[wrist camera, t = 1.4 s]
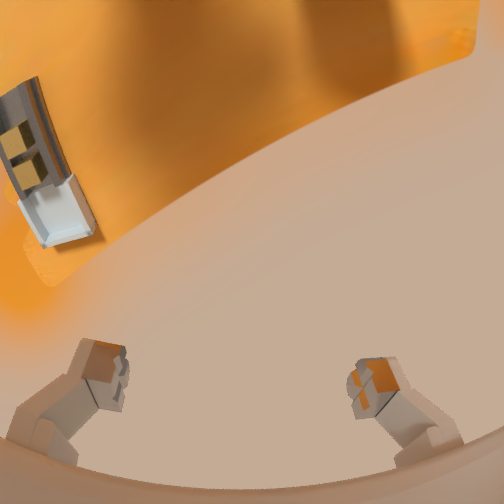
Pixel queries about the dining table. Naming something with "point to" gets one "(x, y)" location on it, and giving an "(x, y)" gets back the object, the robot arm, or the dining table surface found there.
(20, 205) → the tray
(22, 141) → the tan yellow cube
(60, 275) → the dining table surface
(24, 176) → the yellow cube
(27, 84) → the slot bed
